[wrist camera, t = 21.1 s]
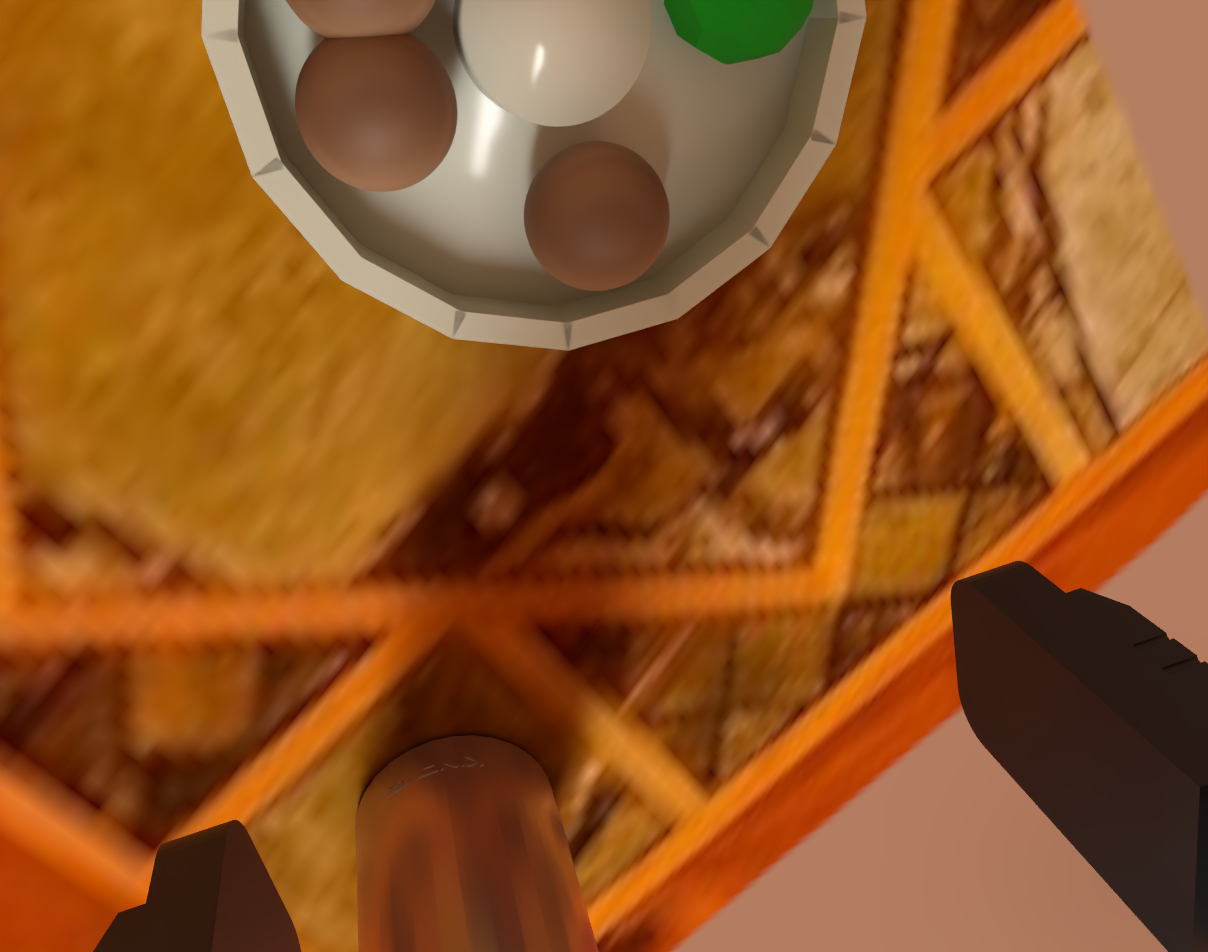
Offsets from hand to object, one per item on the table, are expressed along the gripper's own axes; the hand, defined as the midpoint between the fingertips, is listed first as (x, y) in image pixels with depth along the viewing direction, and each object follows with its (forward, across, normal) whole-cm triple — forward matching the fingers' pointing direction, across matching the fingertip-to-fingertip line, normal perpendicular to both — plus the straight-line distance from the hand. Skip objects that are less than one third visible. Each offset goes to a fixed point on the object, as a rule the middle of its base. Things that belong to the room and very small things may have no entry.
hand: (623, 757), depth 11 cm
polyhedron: (+29, -12, -6) cm, 32 cm away
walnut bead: (+29, -6, 0) cm, 30 cm away
